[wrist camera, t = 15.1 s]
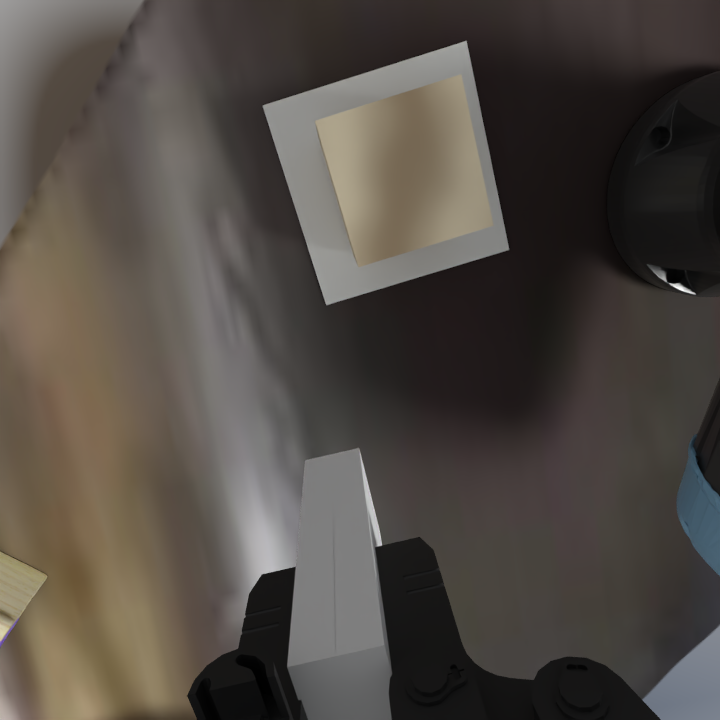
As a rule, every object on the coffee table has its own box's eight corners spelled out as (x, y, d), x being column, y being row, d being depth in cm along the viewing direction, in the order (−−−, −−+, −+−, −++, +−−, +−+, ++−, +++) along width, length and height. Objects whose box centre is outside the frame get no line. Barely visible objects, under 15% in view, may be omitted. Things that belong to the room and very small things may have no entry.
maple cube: (315, 120, 28) (318, 138, 35) (358, 267, 30) (352, 253, 38) (461, 74, 27) (432, 102, 35) (493, 225, 30) (459, 220, 37)
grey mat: (465, 42, 34) (466, 40, 34) (507, 249, 39) (509, 249, 38) (262, 106, 35) (262, 105, 35) (326, 304, 39) (326, 305, 39)
